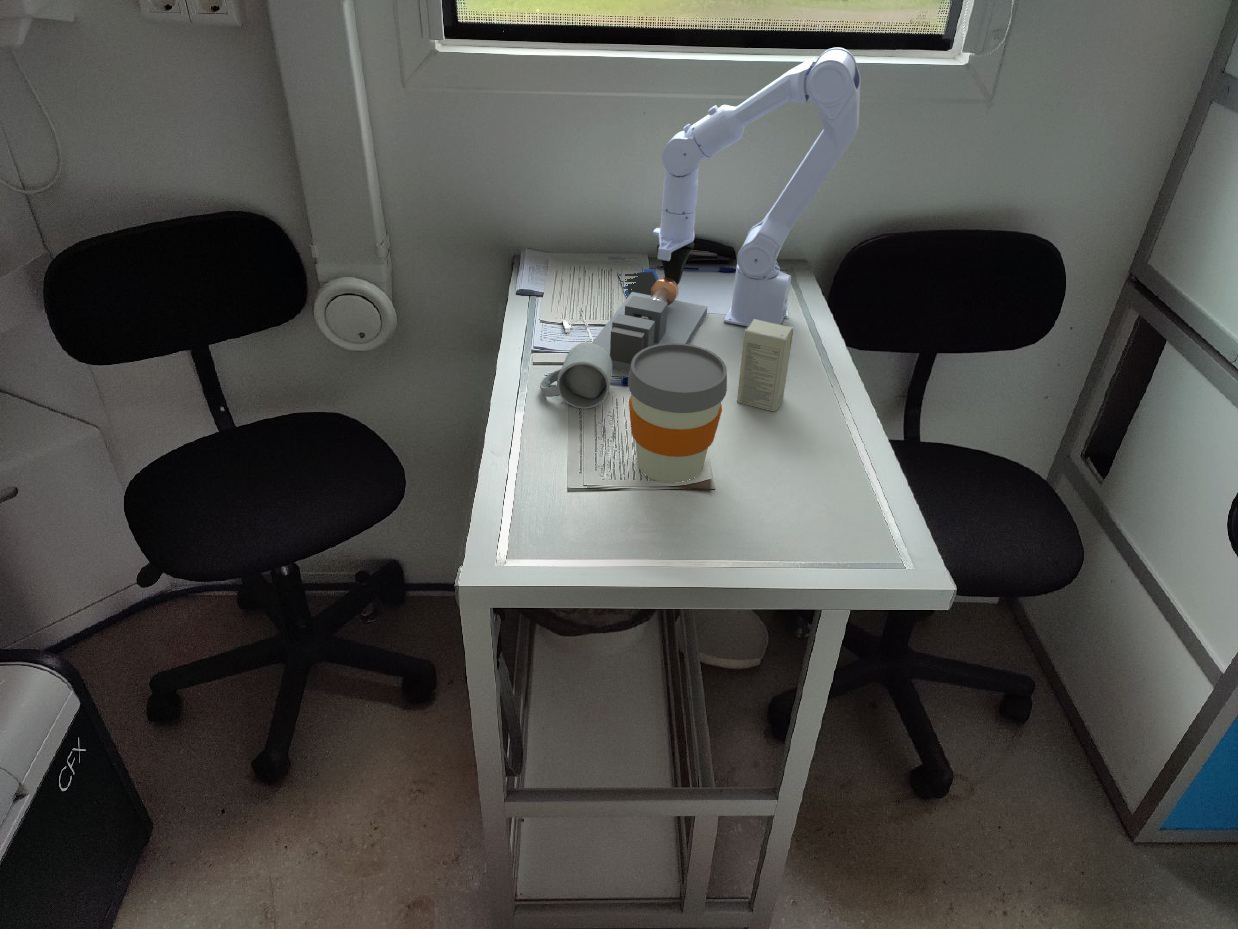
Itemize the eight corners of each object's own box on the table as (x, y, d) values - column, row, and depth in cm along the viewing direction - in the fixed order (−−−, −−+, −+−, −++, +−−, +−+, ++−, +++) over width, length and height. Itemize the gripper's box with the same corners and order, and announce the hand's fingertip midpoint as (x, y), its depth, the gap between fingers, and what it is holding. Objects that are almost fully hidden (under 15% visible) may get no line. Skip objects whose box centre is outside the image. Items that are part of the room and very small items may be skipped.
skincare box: (783, 399, 130) (796, 327, 122) (775, 413, 127) (788, 340, 119) (743, 388, 132) (753, 316, 124) (734, 401, 129) (744, 329, 121)
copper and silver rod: (677, 303, 149) (679, 279, 146) (655, 335, 139) (657, 310, 137) (653, 298, 150) (655, 275, 147) (630, 330, 140) (631, 305, 138)
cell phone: (653, 272, 165) (654, 268, 164) (668, 305, 154) (669, 301, 154) (616, 273, 164) (616, 269, 163) (628, 306, 153) (628, 302, 152)
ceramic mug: (613, 381, 132) (614, 337, 127) (608, 411, 125) (609, 365, 121) (544, 378, 132) (543, 333, 128) (536, 407, 126) (534, 361, 121)
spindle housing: (706, 314, 151) (710, 277, 147) (667, 380, 133) (670, 340, 128) (631, 299, 154) (633, 263, 150) (582, 362, 136) (583, 322, 132)
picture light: (596, 349, 141) (596, 337, 139) (570, 351, 140) (570, 340, 139) (581, 310, 151) (581, 299, 150) (557, 311, 151) (557, 300, 149)
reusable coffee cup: (605, 455, 117) (608, 359, 108) (675, 425, 123) (684, 332, 114) (663, 504, 109) (673, 405, 100) (735, 469, 115) (750, 373, 106)
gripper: (668, 190, 150) (663, 263, 158) (642, 219, 139) (638, 295, 147) (707, 196, 148) (700, 270, 156) (684, 226, 137) (677, 303, 145)
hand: (672, 283), depth 151 cm, fingers closed
